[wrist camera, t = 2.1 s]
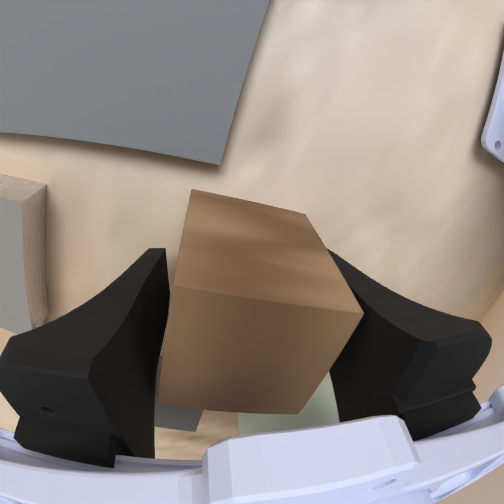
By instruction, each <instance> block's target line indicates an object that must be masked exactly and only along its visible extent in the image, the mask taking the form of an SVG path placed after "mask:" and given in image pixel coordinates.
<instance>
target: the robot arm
mask: <svg viewBox="0 0 504 504" xmlns="http://www.w3.org/2000/svg"><path fill="white" fill-rule="evenodd" d="M495 143H496V145H495ZM481 144H482V147H483V148H484V149H485V150H487V151H488V152H489V153H491V154H492V155H493V156H495V157H496V158H497V159H499V160H500V161H501V162H503V163H504V51H503V57H502V62H501V66H500V71H499V75H498V80H497V84H496V88H495V92H494V96H493V99H492V103H491V107H490V110H489V114H488V117H487V120H486V123H485V127H484V130H483V133H482V136H481ZM326 249H327V248H326ZM327 250H328V252H329V254H330V255H331V257H332V259H333V260H334V262H335V264H336V265H337V267H338V269H339V271H340V272H341V274H342V276H343V277H344V279H345V281H346V282H347V284H348V286H349V288H350V289H351V291H352V293H353V295H354V296H355V298H356V300H357V302H358V303H359V305H360V307H361V309H362V311H363V312H364V315H363V316H362V318H361V320H360V321H359V323H358V325H357V327H356V328H355V330H354V332H353V333H352V335H351V337H350V338H349V340H348V341H347V343H346V345H345V346H344V348H343V349H342V351H341V353H340V354H339V356H338V357H337V359H336V360H335V362H334V364H333V365H332V367H331V368H330V370H329V373H330V377H331V381H332V386H333V390H334V395H335V400H336V405H337V410H338V416H339V422H340V423H335V424H329V425H323V426H316V427H309V428H301V429H293V430H283V431H273V432H260V433H253V434H247V435H241V436H234V437H230V438H227V439H225V440H223V441H220V442H218V443H216V444H213V445H212V446H210V447H209V448H208V449H207V450H206V452H205V454H204V456H203V458H202V460H167V459H155V447H154V415H155V391H156V376H157V368H158V362H159V357H160V352H161V347H162V342H163V337H164V333H165V328H166V323H167V319H168V311H169V300H170V289H169V280H168V270H167V260H166V249H165V248H149V249H148V250H147V251H146V252H145V253H144V254H143V255H142V256H141V257H140V258H139V259H138V260H137V261H135V262H134V263H133V264H132V265H131V266H130V267H129V268H128V269H127V270H126V271H125V272H124V273H123V274H122V275H121V276H119V277H118V278H117V279H116V280H115V281H114V282H112V283H111V284H110V285H109V286H108V287H107V288H105V289H104V290H103V291H101V292H100V293H99V294H97V295H96V296H95V297H93V298H92V299H90V300H89V301H87V302H86V303H84V304H83V305H81V306H79V307H77V308H76V309H74V310H72V311H71V312H69V313H67V314H66V315H64V316H62V317H60V318H58V319H56V320H54V321H52V322H49V323H47V324H45V325H43V326H40V327H38V328H35V329H33V330H30V331H27V332H24V333H21V334H18V335H16V336H12V337H10V339H9V341H8V343H7V345H6V346H5V348H4V350H3V352H2V354H1V356H0V392H1V393H2V394H3V396H4V397H5V398H6V400H7V401H8V402H9V404H10V405H11V406H12V408H13V409H14V410H15V411H16V413H17V414H18V415H19V416H20V418H19V421H18V424H17V427H16V430H15V433H14V432H10V431H7V430H4V429H1V428H0V504H433V503H435V502H437V501H439V500H441V499H443V498H445V497H447V496H449V495H451V494H453V493H455V492H456V491H458V490H460V489H462V488H464V487H465V486H467V485H469V484H471V483H472V482H474V481H476V480H477V479H479V478H481V477H482V476H484V475H486V474H487V473H489V472H490V471H492V470H493V469H495V468H497V467H498V466H500V465H501V464H503V463H504V384H503V385H501V386H500V387H499V388H498V389H497V390H496V391H495V392H494V393H493V394H492V395H491V397H490V399H489V400H488V401H486V402H484V403H481V404H479V402H478V401H477V399H476V397H475V396H474V394H473V392H472V391H474V390H475V389H476V385H475V384H474V382H473V381H472V378H473V377H474V376H475V374H476V373H477V371H478V370H479V369H480V367H481V366H482V364H483V363H484V361H485V359H486V358H487V356H488V354H489V352H490V349H491V345H492V339H491V337H490V335H489V334H488V332H487V331H486V330H485V329H484V327H483V326H482V325H481V324H480V323H479V322H478V321H474V320H469V319H465V318H461V317H456V316H453V315H449V314H446V313H443V312H440V311H437V310H434V309H431V308H428V307H426V306H423V305H421V304H419V303H416V302H414V301H411V300H409V299H407V298H405V297H403V296H401V295H399V294H397V293H395V292H393V291H391V290H390V289H388V288H386V287H384V286H383V285H381V284H379V283H378V282H376V281H375V280H373V279H371V278H370V277H368V276H367V275H365V274H364V273H362V272H361V271H359V270H358V269H356V268H355V267H354V266H352V265H351V264H349V263H348V262H347V261H345V260H344V259H342V258H341V257H339V256H338V255H337V254H335V253H334V252H332V251H330V250H329V249H327Z"/></svg>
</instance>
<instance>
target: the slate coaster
mask: <svg viewBox="0 0 504 504" xmlns="http://www.w3.org/2000/svg"><path fill="white" fill-rule="evenodd" d="M269 2H270V0H0V132H4V133H17V134H28V135H38V136H48V137H57V138H65V139H73V140H81V141H88V142H95V143H102V144H109V145H115V146H122V147H128V148H134V149H140V150H145V151H151V152H156V153H162V154H167V155H172V156H177V157H182V158H187V159H192V160H197V161H202V162H207V163H211V164H216V165H221V161H222V157H223V153H224V149H225V146H226V142H227V138H228V135H229V131H230V127H231V124H232V120H233V117H234V113H235V110H236V106H237V103H238V99H239V96H240V93H241V89H242V86H243V82H244V79H245V76H246V72H247V69H248V66H249V63H250V59H251V56H252V53H253V50H254V47H255V44H256V41H257V37H258V34H259V31H260V28H261V25H262V22H263V19H264V16H265V13H266V10H267V7H268V4H269Z"/></svg>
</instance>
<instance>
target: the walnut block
mask: <svg viewBox="0 0 504 504" xmlns="http://www.w3.org/2000/svg"><path fill="white" fill-rule="evenodd" d="M363 315H364V312H363V311H362V309H361V307H360V305H359V303H358V302H357V300H356V298H355V296H354V295H353V293H352V291H351V289H350V288H349V286H348V284H347V282H346V281H345V279H344V277H343V276H342V274H341V272H340V271H339V269H338V267H337V265H336V264H335V262H334V260H333V259H332V257H331V255H330V254H329V252H328V250H327V249H326V247H325V245H324V244H323V242H322V241H321V239H320V237H319V236H318V234H317V232H316V231H315V229H314V228H313V226H312V224H311V223H310V221H309V220H308V218H307V216H306V215H305V214H302V213H298V212H294V211H290V210H285V209H281V208H277V207H273V206H268V205H264V204H259V203H255V202H251V201H246V200H242V199H237V198H232V197H228V196H223V195H218V194H214V193H209V192H204V191H199V190H194V189H192V191H191V196H190V200H189V205H188V209H187V214H186V219H185V224H184V229H183V234H182V239H181V244H180V249H179V255H178V260H177V266H176V271H175V277H174V283H173V289H172V295H171V301H170V308H169V314H168V321H167V328H166V336H165V343H164V351H163V359H162V367H161V376H160V385H159V394H158V403H159V404H166V405H173V406H180V407H188V408H196V409H205V410H215V411H226V412H240V413H258V414H299V413H300V411H301V410H302V409H303V407H304V406H305V405H306V403H307V402H308V400H309V399H310V397H311V396H312V395H313V393H314V392H315V390H316V389H317V387H318V386H319V385H320V383H321V382H322V380H323V379H324V377H325V376H326V374H327V373H328V371H329V370H330V368H331V367H332V365H333V364H334V362H335V360H336V359H337V357H338V356H339V354H340V353H341V351H342V349H343V348H344V346H345V345H346V343H347V341H348V340H349V338H350V337H351V335H352V333H353V332H354V330H355V328H356V327H357V325H358V323H359V321H360V320H361V318H362V316H363Z"/></svg>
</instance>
